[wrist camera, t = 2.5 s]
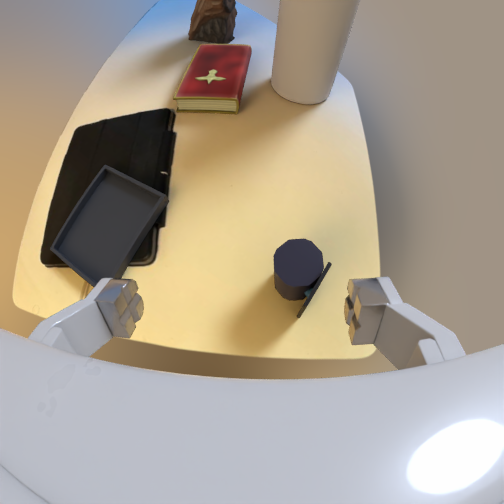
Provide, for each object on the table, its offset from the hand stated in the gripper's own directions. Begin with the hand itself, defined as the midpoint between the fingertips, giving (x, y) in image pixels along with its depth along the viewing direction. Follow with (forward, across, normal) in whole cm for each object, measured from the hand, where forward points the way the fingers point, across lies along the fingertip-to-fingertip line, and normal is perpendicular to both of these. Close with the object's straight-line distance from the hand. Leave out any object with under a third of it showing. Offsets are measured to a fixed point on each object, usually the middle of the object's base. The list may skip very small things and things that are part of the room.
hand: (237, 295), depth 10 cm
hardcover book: (+51, +10, -15) cm, 54 cm away
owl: (+67, +14, -32) cm, 76 cm away
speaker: (+23, -3, +16) cm, 28 cm away
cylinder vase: (+52, -7, -12) cm, 54 cm away
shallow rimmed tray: (+26, +25, +8) cm, 37 cm away
